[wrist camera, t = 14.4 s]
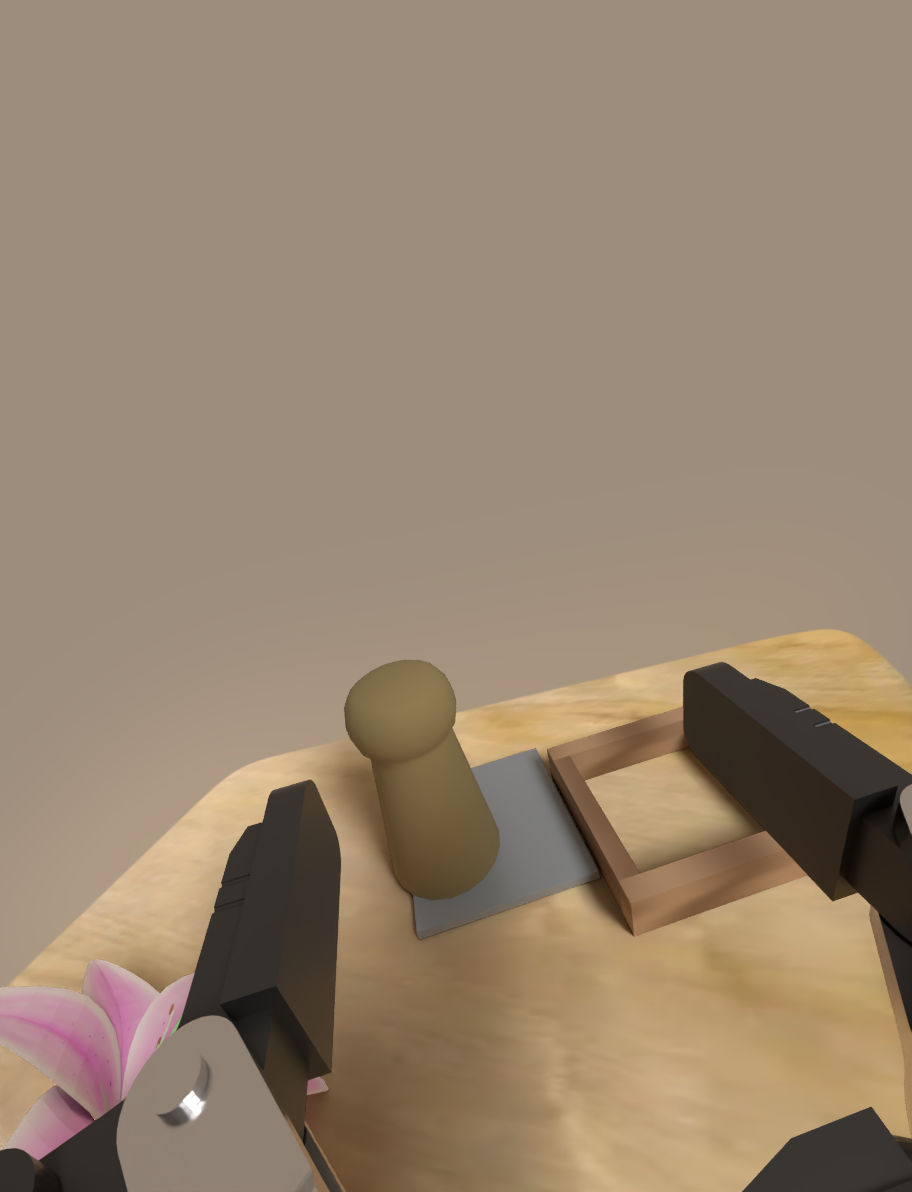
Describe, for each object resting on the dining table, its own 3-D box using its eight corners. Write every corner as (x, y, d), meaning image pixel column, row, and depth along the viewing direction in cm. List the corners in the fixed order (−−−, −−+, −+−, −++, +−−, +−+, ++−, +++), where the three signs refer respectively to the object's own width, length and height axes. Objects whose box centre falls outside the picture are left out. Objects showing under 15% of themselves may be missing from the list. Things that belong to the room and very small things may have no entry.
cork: (467, 920, 22) (405, 734, 17) (369, 875, 25) (297, 709, 21) (517, 815, 26) (478, 648, 22) (429, 789, 29) (380, 638, 25)
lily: (359, 1428, 12) (369, 1040, 13) (-375, 1916, 7) (-308, 1271, 8) (308, 1043, 23) (316, 844, 24) (-1, 1144, 18) (16, 893, 19)
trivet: (419, 939, 22) (416, 933, 22) (404, 795, 30) (402, 789, 30) (599, 878, 23) (598, 871, 22) (536, 754, 31) (535, 748, 31)
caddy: (634, 936, 20) (630, 903, 19) (551, 776, 29) (547, 749, 28) (835, 865, 21) (839, 830, 20) (695, 731, 30) (694, 703, 29)
